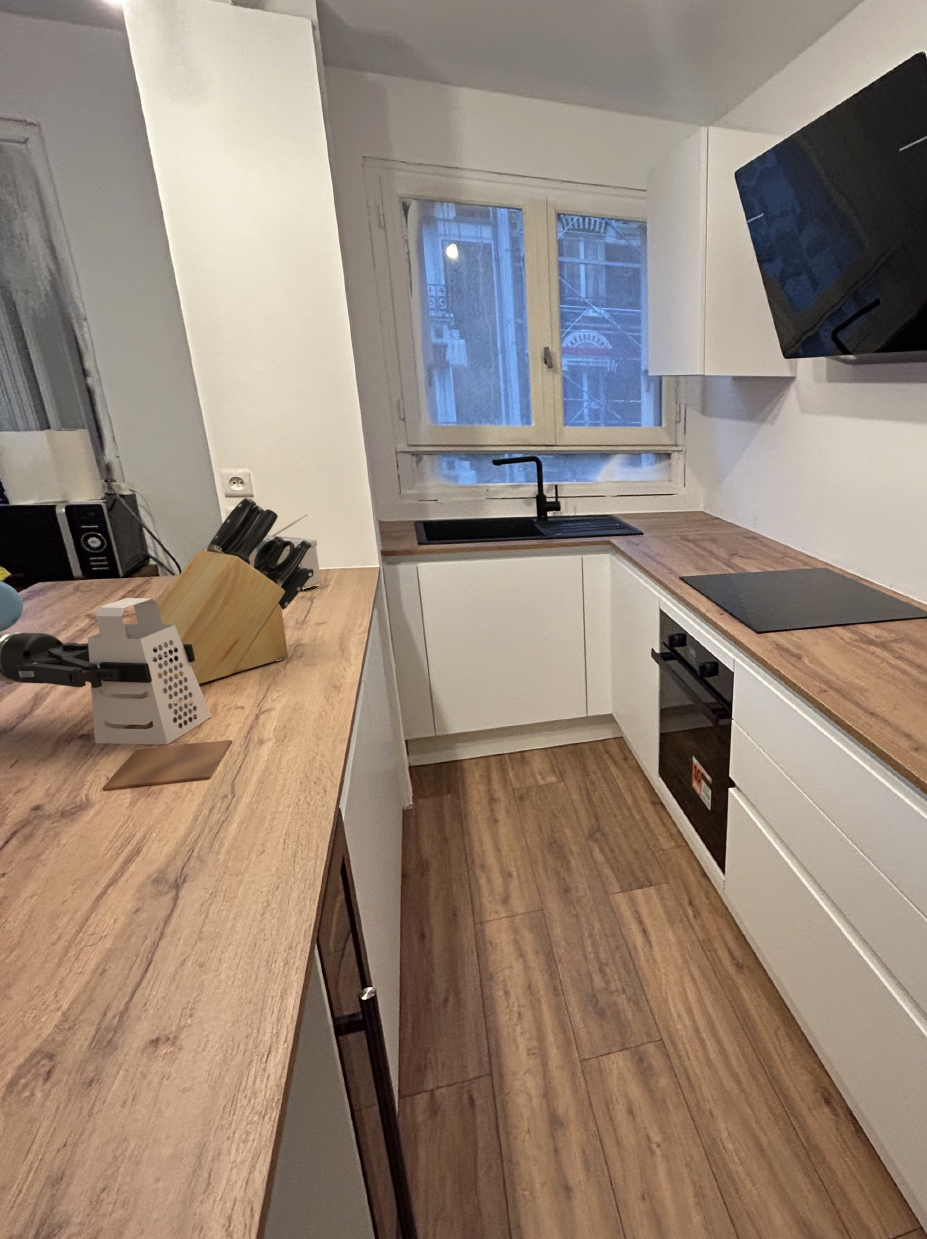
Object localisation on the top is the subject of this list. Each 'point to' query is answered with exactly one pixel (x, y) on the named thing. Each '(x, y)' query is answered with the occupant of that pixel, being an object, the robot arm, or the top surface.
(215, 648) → the knife block
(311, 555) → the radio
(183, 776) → the cork trivet
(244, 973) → the top surface
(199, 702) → the grater
